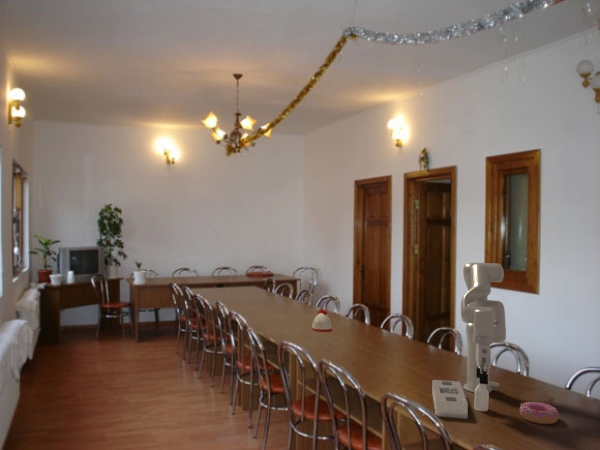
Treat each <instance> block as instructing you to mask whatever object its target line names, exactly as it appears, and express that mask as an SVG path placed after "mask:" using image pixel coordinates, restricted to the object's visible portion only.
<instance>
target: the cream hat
mask: <svg viewBox="0 0 600 450" xmlns="http://www.w3.org/2000/svg"><path fill="white" fill-rule="evenodd" d="M316 313H317V315H316V316H315V318H314V319H313V321H312V324H311V325H312V326H311V330H312V331H313V330H314V331H313V332H318V331H324V332H325V331H327V332H331V331H332V329H333V328H332V323H331V319H330V318H329V317H328V315H327V314H328V311H327V310H326V309H324V308H320V309H319V310H318V311H317V312H316ZM324 332H323V333H324ZM325 333H326V332H325Z"/></svg>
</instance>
